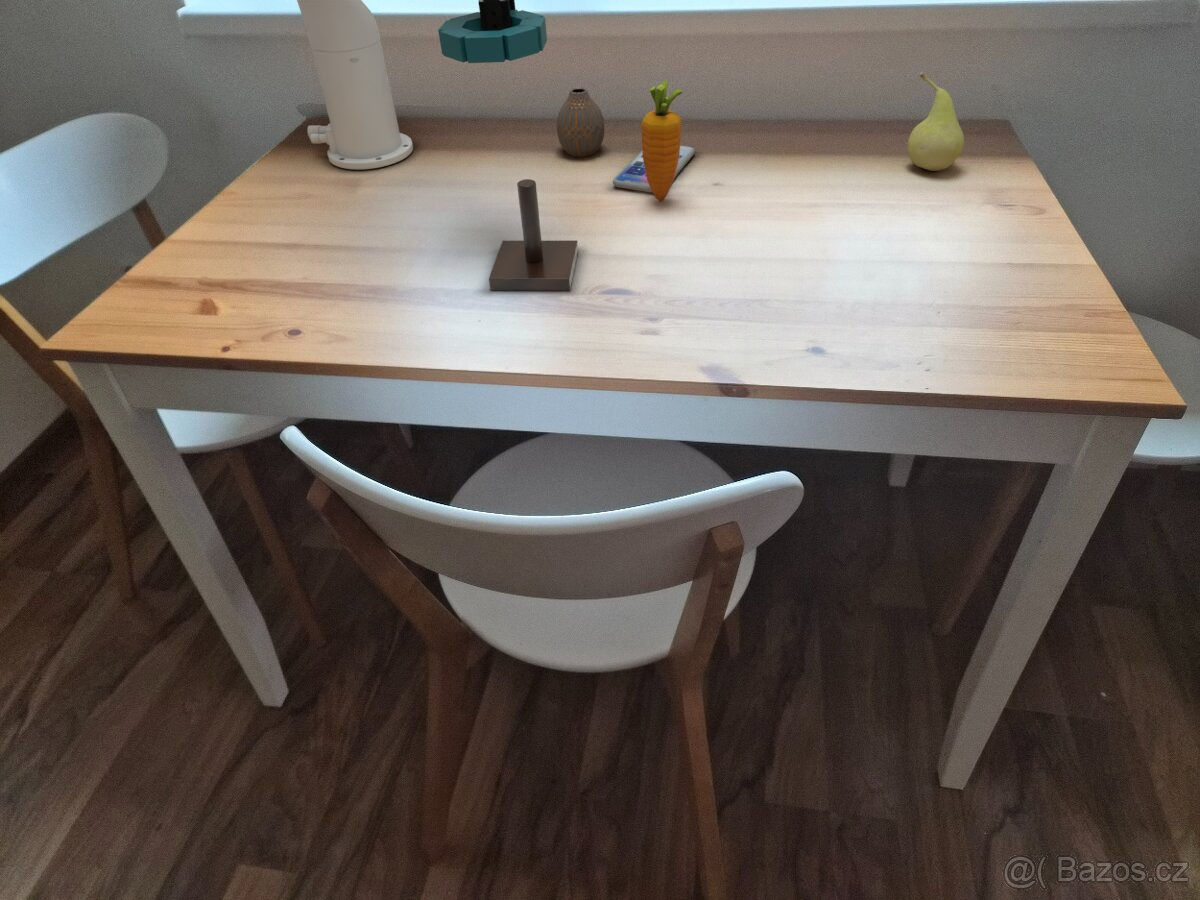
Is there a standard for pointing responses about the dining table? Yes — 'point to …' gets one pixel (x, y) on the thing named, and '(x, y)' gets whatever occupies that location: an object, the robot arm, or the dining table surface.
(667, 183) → the carrot
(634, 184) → the smartphone
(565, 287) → the stand
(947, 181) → the dining table surface
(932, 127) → the fruit
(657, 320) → the dining table surface
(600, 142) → the vase
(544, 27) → the ring
